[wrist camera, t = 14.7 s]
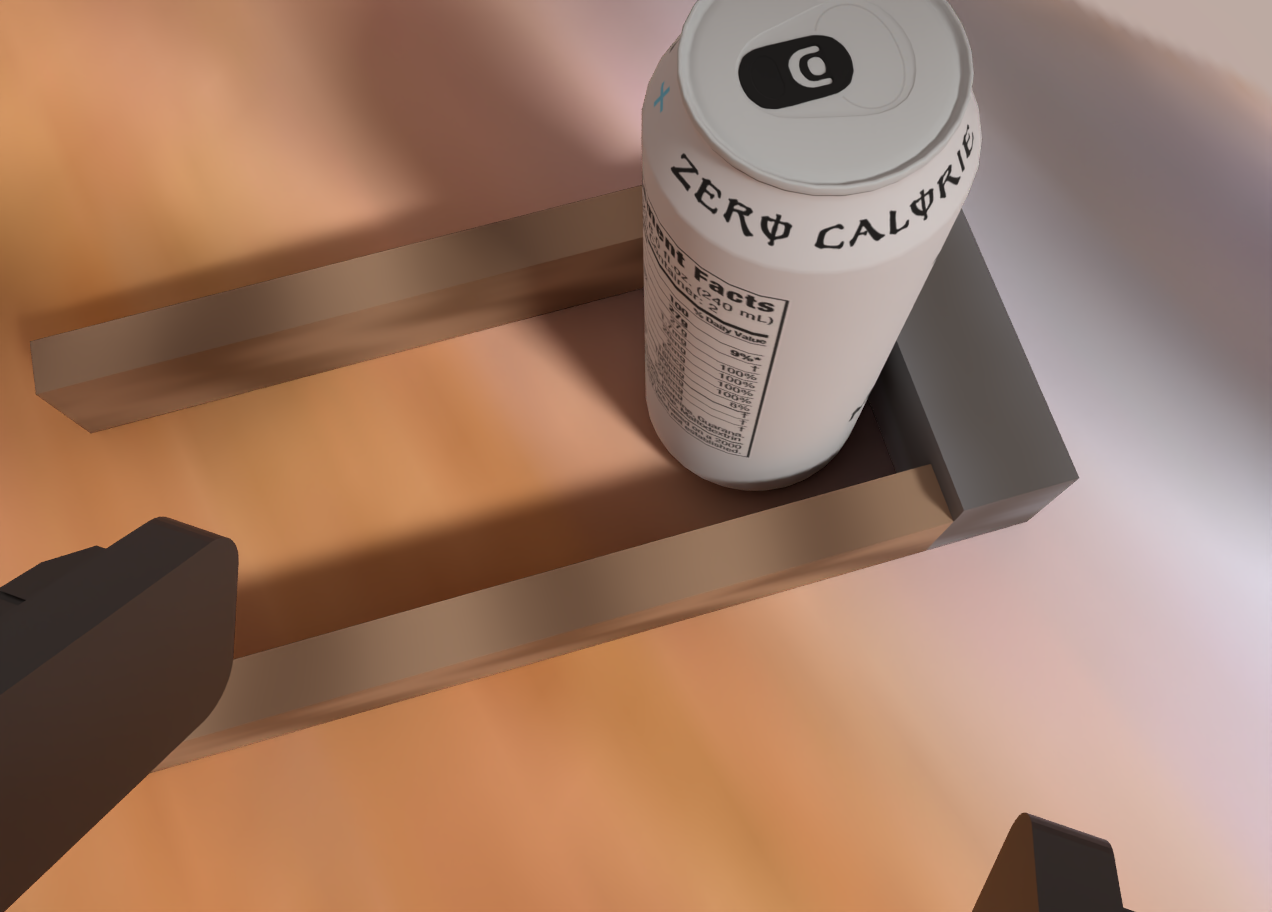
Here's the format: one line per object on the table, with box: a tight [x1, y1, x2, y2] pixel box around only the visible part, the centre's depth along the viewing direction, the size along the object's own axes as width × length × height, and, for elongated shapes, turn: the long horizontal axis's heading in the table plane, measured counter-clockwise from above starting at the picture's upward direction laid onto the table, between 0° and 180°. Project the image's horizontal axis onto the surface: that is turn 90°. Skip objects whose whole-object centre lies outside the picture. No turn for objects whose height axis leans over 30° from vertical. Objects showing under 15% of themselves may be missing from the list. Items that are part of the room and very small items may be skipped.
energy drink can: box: [641, 0, 982, 491], centre depth 25 cm, size 6×6×15 cm
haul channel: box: [30, 185, 1079, 773], centre depth 30 cm, size 25×12×4 cm, turn 106°
